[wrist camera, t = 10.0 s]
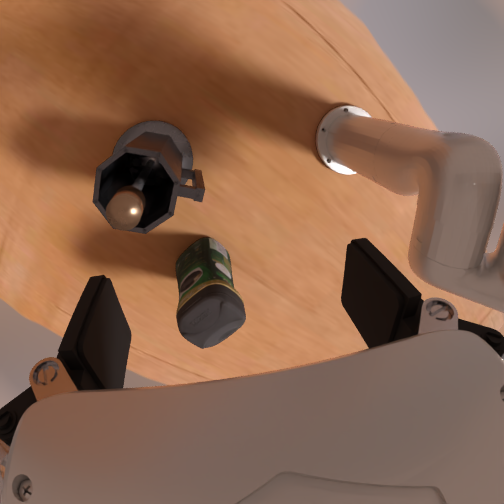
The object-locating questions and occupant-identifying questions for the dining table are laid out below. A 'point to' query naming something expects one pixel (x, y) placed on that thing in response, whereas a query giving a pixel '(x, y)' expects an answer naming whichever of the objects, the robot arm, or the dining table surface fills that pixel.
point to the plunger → (134, 192)
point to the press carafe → (156, 196)
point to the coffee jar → (207, 295)
